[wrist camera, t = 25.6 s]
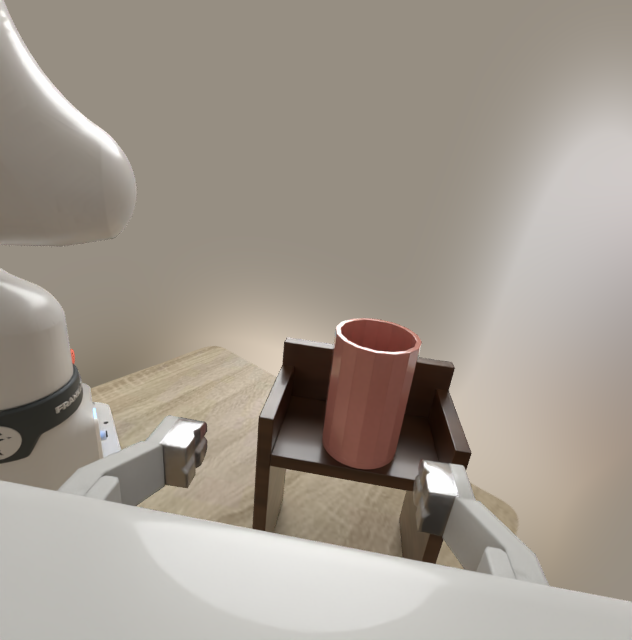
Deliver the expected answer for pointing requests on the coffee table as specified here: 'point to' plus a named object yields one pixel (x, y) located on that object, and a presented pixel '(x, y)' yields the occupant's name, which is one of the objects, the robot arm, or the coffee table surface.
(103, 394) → the coffee table surface
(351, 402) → the cup
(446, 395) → the dark wooden stand
